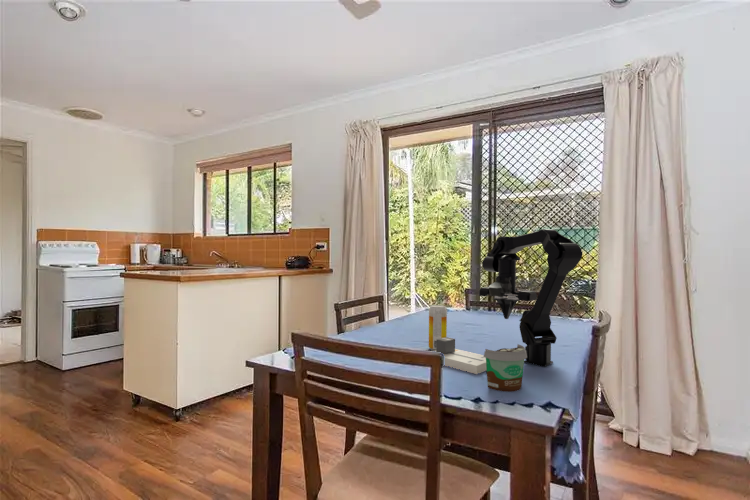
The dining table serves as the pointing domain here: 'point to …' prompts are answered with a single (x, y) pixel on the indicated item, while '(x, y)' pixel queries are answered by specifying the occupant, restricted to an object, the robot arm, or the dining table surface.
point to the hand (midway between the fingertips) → (506, 318)
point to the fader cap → (445, 345)
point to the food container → (505, 368)
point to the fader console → (466, 361)
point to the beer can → (437, 324)
